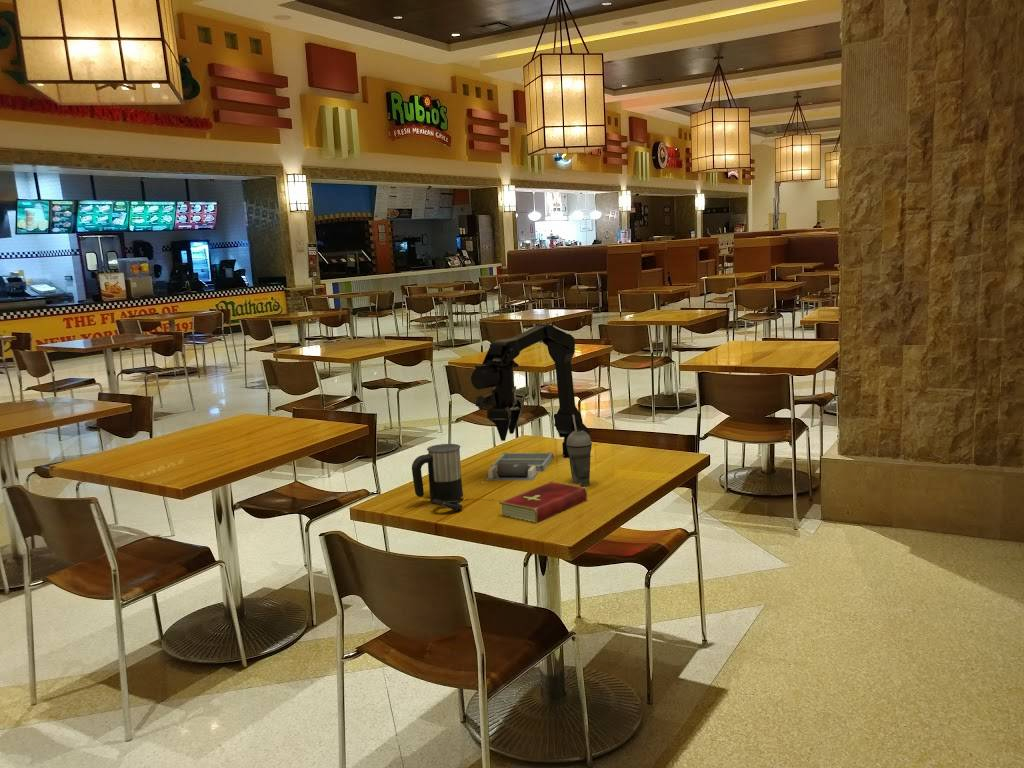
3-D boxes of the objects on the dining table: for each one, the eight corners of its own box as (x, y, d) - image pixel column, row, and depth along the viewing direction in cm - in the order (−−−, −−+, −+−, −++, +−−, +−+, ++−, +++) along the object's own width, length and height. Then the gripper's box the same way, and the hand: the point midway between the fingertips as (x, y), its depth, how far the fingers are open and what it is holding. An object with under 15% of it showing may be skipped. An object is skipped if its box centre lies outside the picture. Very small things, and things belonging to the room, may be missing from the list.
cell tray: (553, 460, 260) (553, 453, 260) (543, 474, 246) (542, 466, 245) (504, 460, 264) (503, 453, 264) (491, 474, 250) (490, 465, 249)
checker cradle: (538, 475, 244) (538, 464, 244) (532, 483, 237) (532, 472, 236) (493, 475, 248) (492, 464, 247) (485, 483, 240) (484, 471, 240)
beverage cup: (592, 488, 228) (589, 417, 225) (566, 488, 230) (562, 417, 227) (595, 480, 235) (592, 411, 232) (570, 480, 237) (566, 412, 234)
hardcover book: (587, 502, 218) (586, 486, 217) (536, 525, 203) (535, 508, 202) (551, 495, 226) (550, 480, 225) (500, 517, 210) (499, 501, 210)
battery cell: (528, 474, 243) (528, 461, 242) (525, 478, 239) (524, 464, 238) (499, 474, 245) (498, 461, 244) (495, 478, 241) (494, 464, 241)
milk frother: (450, 492, 233) (445, 441, 231) (487, 502, 222) (483, 448, 219) (409, 506, 223) (404, 452, 221) (446, 516, 212) (442, 460, 210)
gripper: (486, 379, 250) (490, 430, 253) (467, 390, 233) (471, 444, 235) (522, 379, 247) (525, 430, 250) (505, 389, 230) (509, 444, 232)
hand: (507, 437), depth 242 cm, fingers open, 9 cm apart
